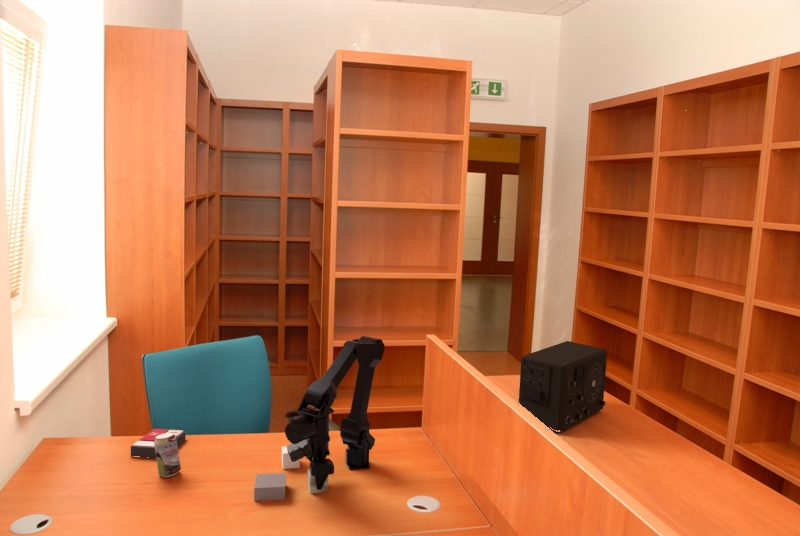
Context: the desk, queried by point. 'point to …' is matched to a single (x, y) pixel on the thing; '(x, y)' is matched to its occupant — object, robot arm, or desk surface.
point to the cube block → (313, 486)
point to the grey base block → (270, 487)
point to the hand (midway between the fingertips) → (317, 484)
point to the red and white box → (146, 443)
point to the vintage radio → (563, 383)
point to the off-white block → (288, 460)
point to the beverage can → (167, 454)
